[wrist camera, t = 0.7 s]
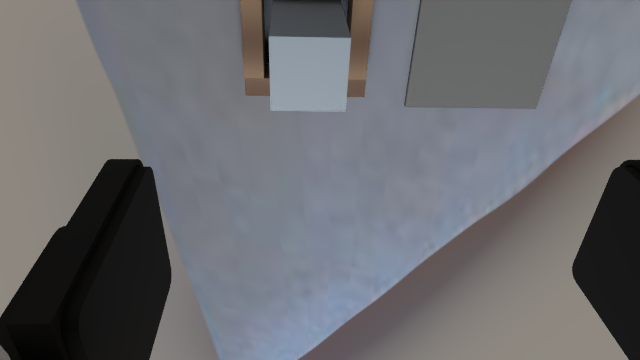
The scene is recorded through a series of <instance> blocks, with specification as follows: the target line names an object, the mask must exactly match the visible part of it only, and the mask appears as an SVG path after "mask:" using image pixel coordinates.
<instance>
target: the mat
mask: <svg viewBox="0 0 640 360" xmlns="http://www.w3.org/2000/svg"><path fill="white" fill-rule="evenodd" d="M571 1H572V0H420V7H419V13H418V20H417V26H416V33H415V39H414V46H413V52H412V59H411V65H410V72H409V78H408V85H407V91H406V98H405V107H439V108H526V109H536V107H537V104H538V101H539V98H540V95H541V92H542V89H543V86H544V83H545V80H546V77H547V74H548V71H549V68H550V65H551V62H552V59H553V56H554V53H555V50H556V47H557V44H558V41H559V38H560V35H561V32H562V29H563V26H564V23H565V20H566V17H567V14H568V11H569V8H570V4H571Z"/></svg>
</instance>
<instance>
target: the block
mask: <svg viewBox="0 0 640 360" xmlns="http://www.w3.org/2000/svg"><path fill="white" fill-rule="evenodd" d="M350 47H351V36H350V32H349V29H348V25H347V21H346V18H345V14H344V11H343V7H342V4H341V0H273V3H272V12H271V21H270V29H269V69H270V108H271V111H346V100H347V87H348V74H349V60H350Z"/></svg>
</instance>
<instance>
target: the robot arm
mask: <svg viewBox="0 0 640 360" xmlns="http://www.w3.org/2000/svg"><path fill="white" fill-rule="evenodd" d="M572 271H573V277H574V279H575V281H576V283H577V284H578V286H579V287H580V289H581V290H582V292H583V293H584V294H585V296H586V297H587V299H588V300H589V302H590V303H591V305H592V306H593V308H594V309H595V310H596V312H597V313H598V315H599V316H600V318H601V319H602V321H603V322H604V324H605V325H606V327H607V328H608V330H609V331H610V333H611V334H612V335H613V337H614V338H615V340H616V341H617V343H618V344H619V346H620V347H621V348H622V350H623V351H624V353H625V355H626V356H627V357H628V359H629V360H640V160H627V161H624V162H623V163H622V164H621V165H620V167H617V168H615V169H614V170H613V172H612V174H611V176H610V178H609V180H608V183H607V185H606V188H605V190H604V192H603V194H602V197H601V199H600V201H599V204H598V206H597V208H596V211H595V213H594V216H593V218H592V220H591V223H590V225H589V227H588V230H587V232H586V234H585V237H584V239H583V241H582V244H581V246H580V248H579V251H578V253H577V256H576V258H575V260H574V263H573V267H572ZM170 284H171V266H170V260H169V255H168V249H167V245H166V239H165V234H164V228H163V223H162V218H161V212H160V206H159V201H158V196H157V190H156V185H155V179H154V174H153V170H152V168H151V167H143V164H142V162H141V161H140V160H139V159H110V160H107V162H106V163H105V164H104V166H103V168H102V169H101V171H100V172H99V174H98V176H97V177H96V179H95V181H94V182H93V184H92V185H91V187H90V188H89V190H88V192H87V193H86V195H85V197H84V198H83V200H82V201H81V203H80V205H79V206H78V208H77V209H76V211H75V213H74V214H73V216H72V217H71V219H70V221H69V222H68V224H67V225H66V226H63V227H61V228H59V229H58V230H57V231H56V232H55V233H54V235H53V236H52V238H51V239H50V241H49V242H48V244H47V246H46V247H45V249H44V250H43V252H42V253H41V255H40V256H39V258H38V260H37V261H36V263H35V264H34V266H33V268H32V269H31V270H30V272H29V274H28V275H27V277H26V278H25V280H24V281H23V283H22V285H21V286H20V288H19V289H18V291H17V292H16V294H15V295H14V297H13V298H12V300H11V302H10V303H9V305H8V306H7V308H6V309H5V311H4V312H3V314H2V316H1V317H0V360H149V358H150V355H151V351H152V348H153V344H154V341H155V337H156V334H157V330H158V327H159V323H160V320H161V316H162V313H163V309H164V306H165V302H166V299H167V295H168V292H169V288H170Z"/></svg>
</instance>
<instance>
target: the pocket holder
mask: <svg viewBox="0 0 640 360" xmlns="http://www.w3.org/2000/svg"><path fill="white" fill-rule="evenodd" d="M373 3H374V0H348V13H347V25H348V29H349V32H350V36H351V47H350V60H349V74H348V87H347V97H364V94H365V84H366V74H367V64H368V54H369V43H370V33H371V23H372V13H373ZM240 5H241V23H242V40H243V57H244V75H245V92H246V95H249V96H270V69H269V64H266V61H265V28H264V0H240Z"/></svg>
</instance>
